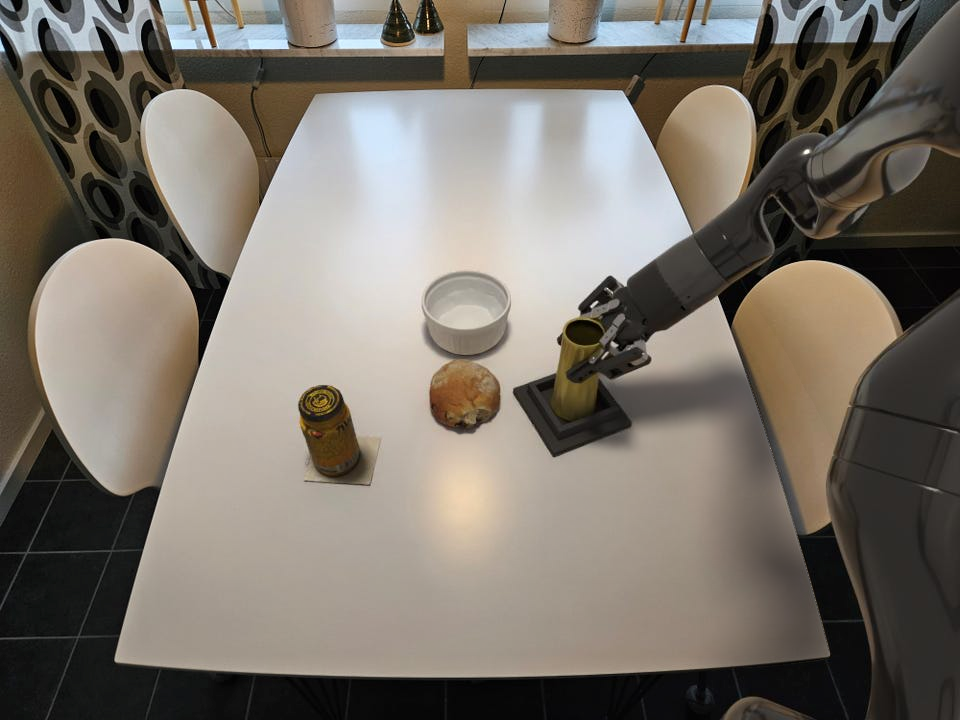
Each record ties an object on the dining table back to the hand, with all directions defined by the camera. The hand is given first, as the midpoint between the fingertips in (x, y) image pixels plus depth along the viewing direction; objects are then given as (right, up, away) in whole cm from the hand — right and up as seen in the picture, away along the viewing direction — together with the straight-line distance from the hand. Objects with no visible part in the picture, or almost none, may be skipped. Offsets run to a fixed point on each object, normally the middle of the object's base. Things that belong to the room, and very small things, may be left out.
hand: (565, 361), depth 82 cm
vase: (+2, -6, +7) cm, 10 cm away
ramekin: (-13, +5, +18) cm, 23 cm away
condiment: (-29, -13, +2) cm, 32 cm away
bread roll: (-13, -6, +9) cm, 17 cm away
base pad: (+2, -7, +8) cm, 10 cm away
